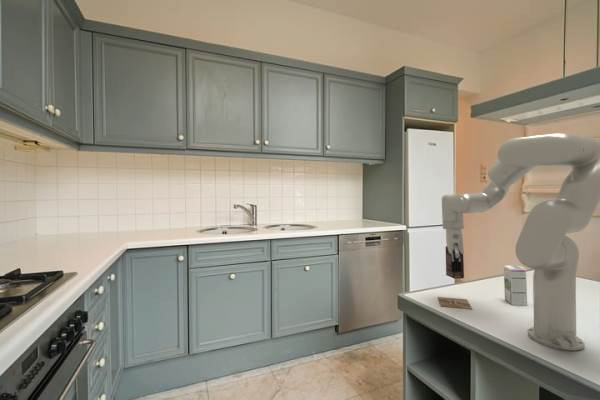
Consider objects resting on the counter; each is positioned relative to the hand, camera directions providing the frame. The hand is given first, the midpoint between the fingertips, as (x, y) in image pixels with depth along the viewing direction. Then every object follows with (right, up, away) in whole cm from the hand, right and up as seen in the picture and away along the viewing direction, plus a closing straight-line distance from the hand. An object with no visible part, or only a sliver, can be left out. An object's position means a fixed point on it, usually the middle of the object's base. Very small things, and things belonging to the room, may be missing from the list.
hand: (454, 269), depth 117 cm
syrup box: (+24, -14, -1) cm, 28 cm away
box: (0, -3, 0) cm, 3 cm away
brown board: (0, -14, +1) cm, 14 cm away
